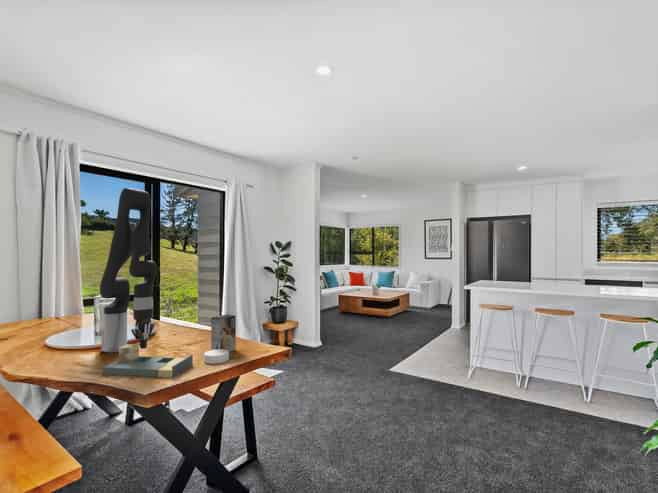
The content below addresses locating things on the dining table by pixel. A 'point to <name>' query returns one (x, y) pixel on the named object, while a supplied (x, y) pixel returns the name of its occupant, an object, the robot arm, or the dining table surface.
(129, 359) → the block
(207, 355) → the white ridged round container
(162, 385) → the dining table surface
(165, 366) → the box
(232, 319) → the coffee box
